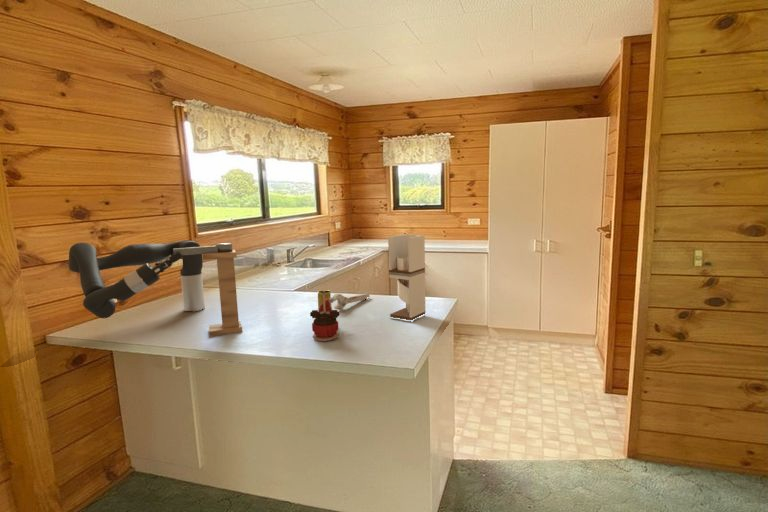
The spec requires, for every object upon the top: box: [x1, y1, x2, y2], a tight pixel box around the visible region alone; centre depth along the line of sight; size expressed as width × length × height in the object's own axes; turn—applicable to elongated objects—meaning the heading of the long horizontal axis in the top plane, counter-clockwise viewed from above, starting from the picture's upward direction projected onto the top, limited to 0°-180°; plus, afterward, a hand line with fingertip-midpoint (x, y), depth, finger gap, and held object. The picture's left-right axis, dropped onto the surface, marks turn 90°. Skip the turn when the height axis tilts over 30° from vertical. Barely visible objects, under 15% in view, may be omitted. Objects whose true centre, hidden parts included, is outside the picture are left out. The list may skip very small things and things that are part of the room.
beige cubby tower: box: [387, 233, 426, 320], centre depth 183 cm, size 11×11×35 cm
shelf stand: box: [202, 249, 243, 337], centre depth 171 cm, size 9×12×32 cm
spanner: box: [173, 242, 234, 255], centre depth 167 cm, size 6×21×3 cm, turn 117°
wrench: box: [332, 293, 371, 311], centre depth 208 cm, size 8×2×30 cm
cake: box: [309, 291, 340, 342], centre depth 161 cm, size 11×9×18 cm
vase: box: [317, 289, 333, 311], centre depth 176 cm, size 6×6×14 cm
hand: (181, 253), depth 163 cm, fingers open, 8 cm apart
